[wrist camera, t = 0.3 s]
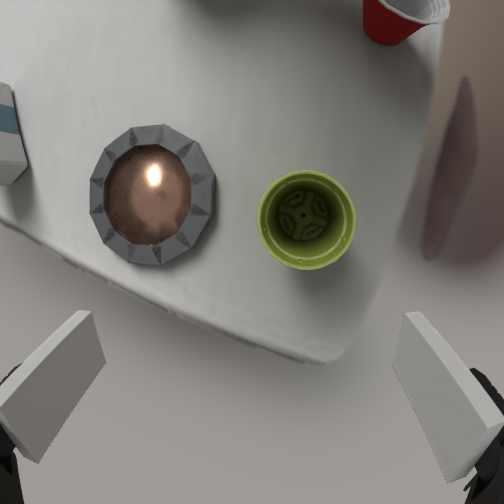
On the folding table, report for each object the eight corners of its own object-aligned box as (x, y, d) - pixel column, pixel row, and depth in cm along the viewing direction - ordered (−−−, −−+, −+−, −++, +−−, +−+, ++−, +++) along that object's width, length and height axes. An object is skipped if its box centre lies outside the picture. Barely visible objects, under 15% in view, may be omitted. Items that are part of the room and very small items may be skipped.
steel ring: (99, 134, 38) (92, 133, 36) (218, 124, 36) (214, 120, 34) (98, 256, 41) (91, 259, 39) (213, 266, 39) (210, 269, 37)
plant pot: (318, 162, 35) (325, 152, 27) (355, 230, 36) (372, 241, 27) (251, 199, 37) (238, 201, 28) (288, 266, 38) (287, 287, 29)
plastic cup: (416, 74, 31) (454, 37, 19) (340, 46, 32) (355, -3, 20) (421, 18, 28) (450, -23, 17) (351, -7, 29) (364, -57, 18)
